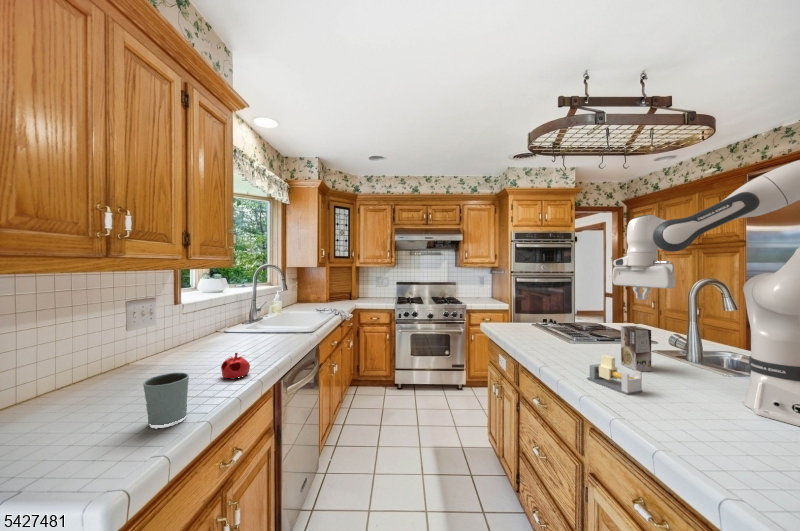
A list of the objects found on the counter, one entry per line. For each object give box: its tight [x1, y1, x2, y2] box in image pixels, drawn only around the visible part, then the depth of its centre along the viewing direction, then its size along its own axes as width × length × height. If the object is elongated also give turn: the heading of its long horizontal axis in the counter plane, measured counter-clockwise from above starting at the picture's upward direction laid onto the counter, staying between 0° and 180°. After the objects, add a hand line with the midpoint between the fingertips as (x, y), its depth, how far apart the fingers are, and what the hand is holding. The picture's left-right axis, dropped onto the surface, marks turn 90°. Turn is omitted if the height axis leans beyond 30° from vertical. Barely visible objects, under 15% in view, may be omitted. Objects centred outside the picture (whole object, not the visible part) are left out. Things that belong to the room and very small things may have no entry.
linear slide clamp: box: [586, 363, 643, 396], centre depth 114 cm, size 15×7×7 cm, turn 18°
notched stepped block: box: [599, 354, 619, 380], centre depth 116 cm, size 4×4×7 cm
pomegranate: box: [220, 352, 251, 379], centre depth 126 cm, size 10×10×9 cm
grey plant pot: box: [142, 372, 190, 425], centre depth 90 cm, size 10×10×12 cm
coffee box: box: [620, 325, 652, 372], centre depth 132 cm, size 9×6×16 cm
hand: (641, 299), depth 118 cm, fingers closed
